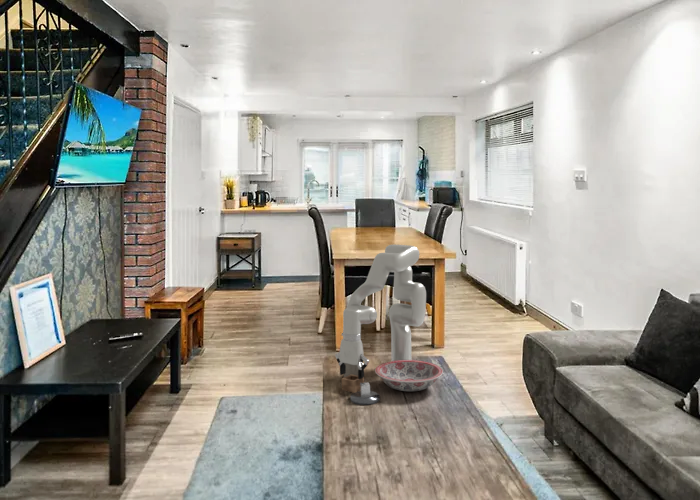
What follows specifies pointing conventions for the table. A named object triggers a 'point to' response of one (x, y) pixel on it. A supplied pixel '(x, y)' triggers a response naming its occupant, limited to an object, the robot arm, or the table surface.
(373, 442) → the table surface
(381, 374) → the ceramic bowl
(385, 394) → the table surface
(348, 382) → the hollow wooden square
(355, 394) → the post base
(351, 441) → the table surface
